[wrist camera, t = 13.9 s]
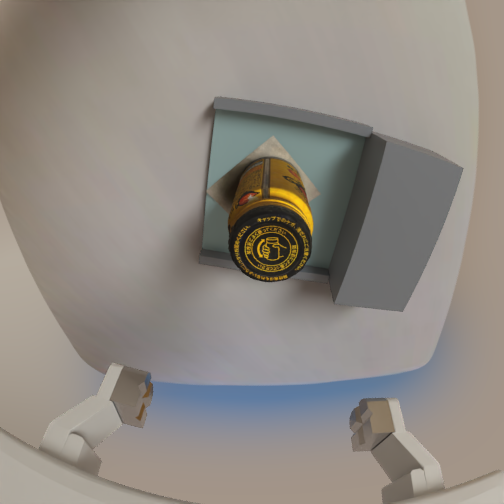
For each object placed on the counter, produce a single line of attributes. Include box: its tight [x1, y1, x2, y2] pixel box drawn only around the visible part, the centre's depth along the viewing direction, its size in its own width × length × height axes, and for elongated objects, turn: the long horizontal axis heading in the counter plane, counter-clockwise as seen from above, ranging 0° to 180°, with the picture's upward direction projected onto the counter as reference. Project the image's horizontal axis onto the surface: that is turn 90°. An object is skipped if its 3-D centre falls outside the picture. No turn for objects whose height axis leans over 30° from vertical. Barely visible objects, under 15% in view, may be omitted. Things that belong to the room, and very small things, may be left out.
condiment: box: [206, 136, 321, 282], centre depth 24 cm, size 7×8×12 cm
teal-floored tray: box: [199, 97, 463, 312], centre depth 27 cm, size 17×22×6 cm
